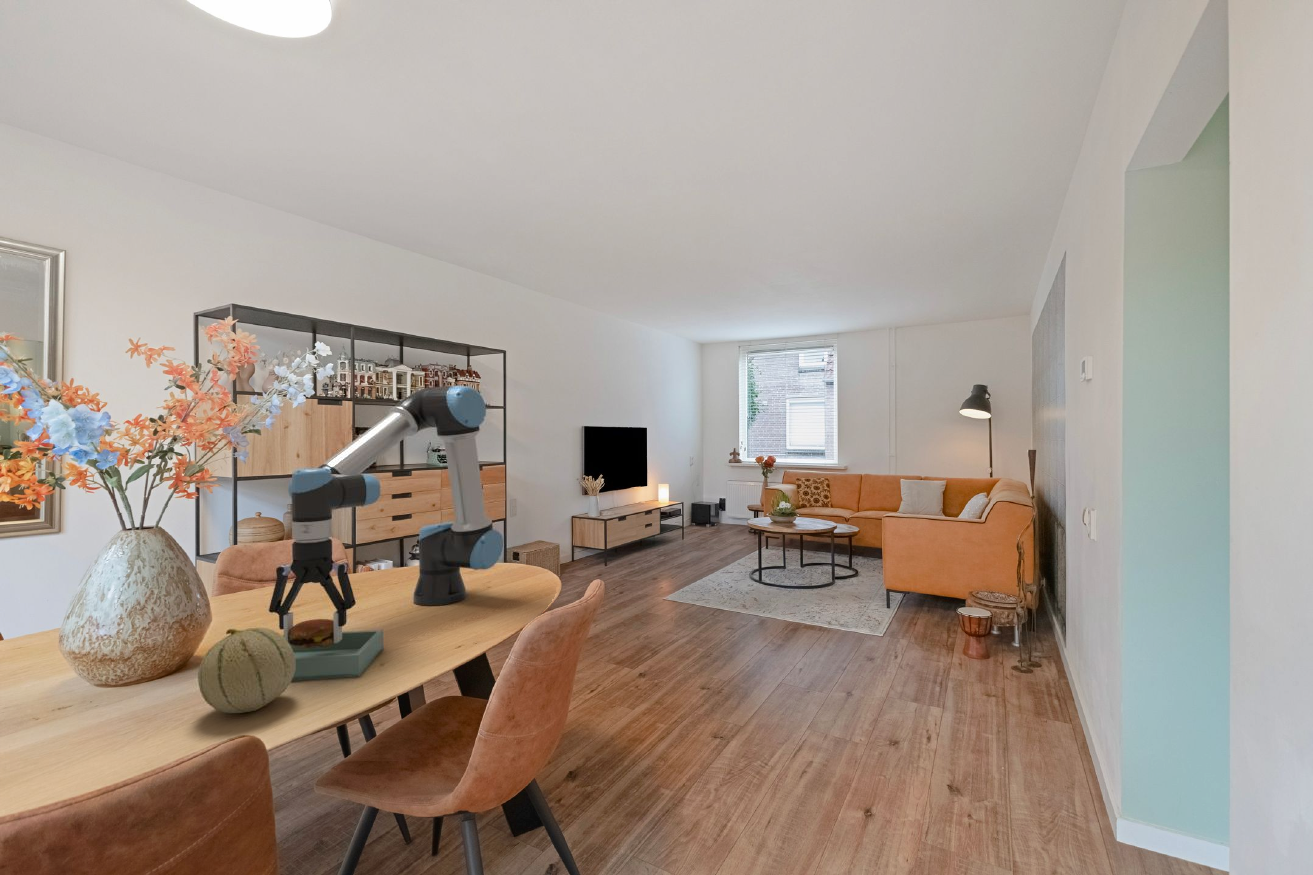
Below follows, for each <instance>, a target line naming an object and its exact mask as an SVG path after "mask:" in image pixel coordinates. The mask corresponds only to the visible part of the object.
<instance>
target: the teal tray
mask: <svg viewBox="0 0 1313 875" xmlns="http://www.w3.org/2000/svg"><path fill="white" fill-rule="evenodd" d="M281 635H282V636H283V637H284V634H281ZM290 646H291V647H292V650H293V652H294V655H295V660H296V669H295V673H294V676H293V678H292V680H291V682H294V681H295V682H296V681H297V682H298V681H312V680H313V681H314V680H327V679H328V680H330V679H344V678H345V679H346V678H360V676H361V675H362V674H363V672H365V671H366V669H367V668H368V667H369V666H370V665H371V664H372V662H373V661H374V660H375V659H376V658H377V657H378V656H379V655H380V653H381V652H382V651H383V650H384V629H375V630H374V629H373V630H358V631H357V630H353V631H342V639H341V640H340V641H339V642H338V643H333V644H331V645H329V646H326V647H320V646H316V647H315V648H312V649H311V648H297V647H295V646H294V645H291V644H290Z"/></svg>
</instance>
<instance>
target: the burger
mask: <svg viewBox="0 0 1313 875" xmlns="http://www.w3.org/2000/svg"><path fill="white" fill-rule="evenodd" d="M289 637H290V644H291V645H294V646H295V647H297V648H311V649H312V648H315V647H316V646H320V647H326V646H329V645H331V644H333V643H334V619H333V620H332V619H328V618H316V619H308V620H304V621H301V622H298V623H296V624H295V625H293V628H292V629H291V631H290V634H289Z"/></svg>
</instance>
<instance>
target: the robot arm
mask: <svg viewBox="0 0 1313 875" xmlns="http://www.w3.org/2000/svg"><path fill="white" fill-rule="evenodd" d="M486 415H487V407H486V402H485V400H484V398H483V396H482V395H481V393H480V392H478V391H477V390H476V389H475V388H473V387H471V386H467V385H451V386H450V385H448V386H435V387H434V386H429V387H425V388H421V389H419V390H417V391H415V392H413V393H412V394H410V395H408V396H406V397H405V398H403V399H402V400H401V401H399V402H397V403H396V404H395V405H393V406H392V407H391V408H389V410H388V412H387V415H386V416H385V417H383V418H382V419H381V420H379V421H378V422H376V423H375V424H374V425H373V426H371V427H370V428H369V429H367V430H366V431H365V432H364V433H362V434H361V435H360V436H358V437H357V438H355V439H354V440H353V441H351V442H350V443H349V444H347V445H346V446H345V447H344V448H342V449H340V450H339V451H338V452H337V453H336V454H334V455H333V456H332V457H330V458H329V459H327V460H326V461H325V462H323V463H322V464H321V465H319V466H318V467H317V468H300V469H295V470H294V471H293V472H292V476H291V480H290V481H289V484H288V495H289V497H290V498H291V518H292V519H291V530H292V531H291V534H292V535H291V536H292V537H291V538H292V540H294V542H292V544H291V546H292V547H291V548H292V549H291V552H292V553H291V555H292V562H291V564H290V565H289V564H288V565H287V564H283V565H281V566H280V565H279V566H278V567H277V568H276V569H275V573H276V580H275V585H274V588H273V593H272V597H271V600H270V604H269V607H268V611H269V613H271V614H273V613H275V614H278V624H279V625H278V627H279V630H283V635H284V638H285V639H286V640H287V642H288V643H289V644H290V637H289V634H290V631H291V629H292V628H293V626H294V612H293V611H290V610H291V607H292V606H293V603H294V602H295V600H296V598H297V596H298V594H299V593H300V591H301V589H302V587H303V586H304V584H309V583H311V584H312V583H313V584H319V585H320V587H322V588H323V589H324V591H325V593H326V594H327V596H328V598H329V599H330V601H331V603H332V604H333V606H334V608H335V609H336V611H334V612H333V613H332V614H333V621H334V643H338V642H339V641H340V640H341V639H342V632H343V627H344V626H345V625H346V624H347V621H348V620H347V619H348V618H347V610H350V609H352V608H353V607H354V606H355V605H356V600H355V599H356V598H355V594H354V592H353V588H352V584H351V581H350V580H351V579H350V578H349V573H348V570H349V569H348V568H349V564H348V562H342V563H339V562H337V563H335V561H334V560H333V540H332V539H331V537H332V536H333V521H332V520H333V511H334V510H338V509H339V510H340V509H346V508H356V507H365V506H369V505H373V504H374V503H376V502H377V501H378V500H379V498H380V495H381V483H380V481H379V479H378V478H377V477H376V476H375V475H373V474H371V473H363V472H364V471H366V469H367V468H369V467H370V466H371V465H372V464H374V463H375V462H376V461H378V460H379V459H381V457H382V456H384V455H385V454H386V453H387V452H389V451H390V450H391V449H392V448H394V447H395V446H397V445H398V444H399V443H400V442H401V441H403V440H404V439H405V438H406V437H413V436H414V435H416V434H417V433H418V432H420V431H422V430H425V429H431V428H435V429H436V435H437V437H439V439H440V440H442V441H443V442H444V451H445V458H446V463H447V471H448V478H449V479H448V480H449V483H450V484H449V485H450V492H451V498H452V504H453V511H454V512H453V513H454V519H455V521H450V522H448V521H447V522H442V523H441V522H440V523H435V524H428V525H424V526H422V527H421V528H420V529H419V533H418V534H419V535H418V562H419V569H418V570H419V576H418V579H417V582H416V585H415V587H414V591H413V595H412V596H413V599H412V600H413V601H412V602H413V603H414V604H416V605H419V606H427V607H428V606H431V607H433V606H444V605H449V604H450V605H451V604H454V603H457V602H460V601H461V602H462V600H464V599H465V598H466V597H467V589H466V585H465V583H464V580H463V578H462V574H461V568H463V569H470V570H471V569H472V570H474V571H478V570H488V569H491V568H492V567H493V566H495V565H496V564H497V563H498V561H499V560H500V557H501V555H502V554H503V551H504V537H503V536H502V533H500V531H499V530H496V529H494V527H493V521H492V519H491V518H489V517H488V516H487V514H486V508H485V499H484V492H483V486H482V478H481V471H480V470H481V469H480V463H479V455H478V448H477V447H478V446H477V441H476V440H477V439H476V436H477V435H478V433H480V431H481V429H480V425H482V423H483V422H484V421H485V417H486ZM333 570H334V572H335V574H336V575H337V580H338V583H339V587H340V591H341V592H340V591H339V589H338V588H337V586H336V584H335V582H334V581H333V580H334V579H333V577H332V575H331V572H332V571H333ZM291 572H292V573H293V575H294V576H295V578H294V581H293V582H292V584H291V587H290V589H289V591H288V593H287V594H286V596H285V598H284V594H285V591H286V587H287V582H288V578H289V575H290V574H291ZM341 594H342V595H341ZM283 598H284V600H283Z"/></svg>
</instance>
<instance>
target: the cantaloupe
mask: <svg viewBox="0 0 1313 875" xmlns="http://www.w3.org/2000/svg"><path fill="white" fill-rule="evenodd" d="M225 634H226V635H227V636H225V637H224V638H222V639H221V640H219V641H218V642H216V643H214V644H213V645H212V646H211V647H210V649H208V651H207V652H206V653H205V655H204V657H203V658H202V660H201V662H200V665H199V668H198V672H197V679H198V680H197V681H198V687H199V691H200V694H201V696H202V698H203V700H204V701H205V702H206V704H208V705H209V706H210V707H212V708H213V709H215V710H217V711H218V712H222V713H226V714H243V713H250V712H254V711H257V710H259V709H261V708H263V707H264V706H267V705H268V704H269V703H271V702H272V701H274V700H275V699H277V698H278V697H279V696H281V695H282V694H283V693H284V692H285V691H286V690H287V688H288V687H289V685H290V684H291V682H292V681H291V680H292V678H293V676H294V673H295V669H296V660H295V655H294V652H293V650H292V647H291V646H290V644H289V643H288V642H287V640H286V639H285V638H284V637H283V636H282V635H283V634H281V633H279V632H277V631H275V630H273V629H270V628H267V627H252V628H245V629H243V630H242V629H241V630H238V629H236V628H229V629H227V630H226V633H225ZM229 634H230V635H229Z"/></svg>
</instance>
